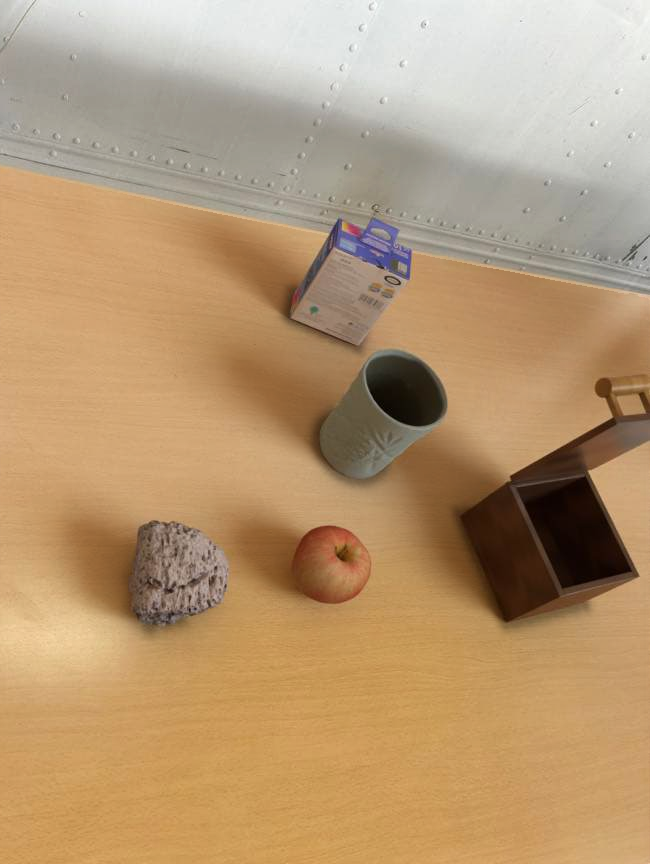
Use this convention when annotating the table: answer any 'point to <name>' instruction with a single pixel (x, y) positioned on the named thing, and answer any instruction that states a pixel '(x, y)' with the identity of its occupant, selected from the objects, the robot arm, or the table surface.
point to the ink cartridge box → (352, 281)
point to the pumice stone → (175, 573)
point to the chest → (547, 544)
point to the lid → (599, 433)
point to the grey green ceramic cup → (382, 413)
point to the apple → (331, 565)
